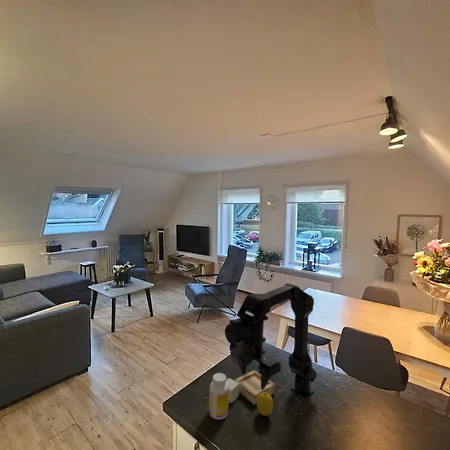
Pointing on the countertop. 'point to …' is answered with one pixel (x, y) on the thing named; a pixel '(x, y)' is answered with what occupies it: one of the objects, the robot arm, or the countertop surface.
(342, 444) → the countertop surface
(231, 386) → the ceramic cube
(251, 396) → the square tray
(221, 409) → the supplement bottle
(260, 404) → the lemon
